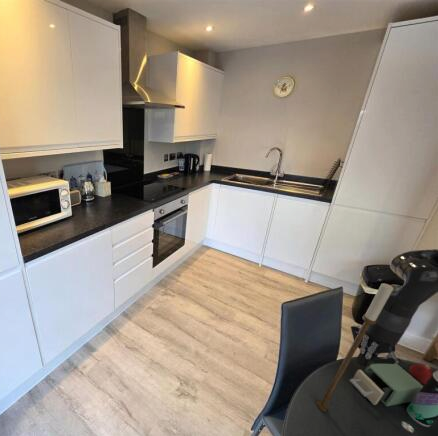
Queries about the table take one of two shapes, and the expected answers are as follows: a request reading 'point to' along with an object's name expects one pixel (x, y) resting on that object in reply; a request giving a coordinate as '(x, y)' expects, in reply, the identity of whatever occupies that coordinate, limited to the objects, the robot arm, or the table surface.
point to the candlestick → (345, 363)
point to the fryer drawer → (371, 386)
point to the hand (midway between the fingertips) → (361, 364)
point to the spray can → (425, 403)
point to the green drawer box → (397, 383)
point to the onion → (421, 373)
